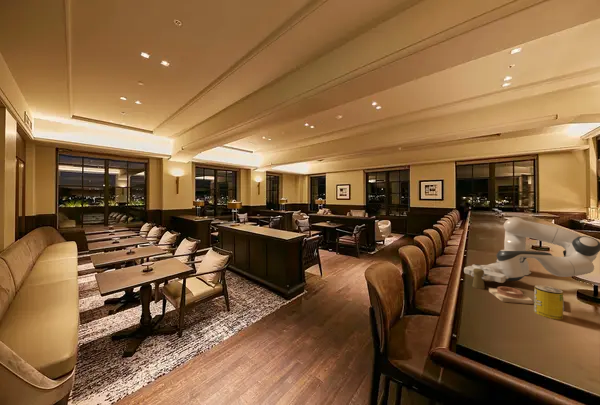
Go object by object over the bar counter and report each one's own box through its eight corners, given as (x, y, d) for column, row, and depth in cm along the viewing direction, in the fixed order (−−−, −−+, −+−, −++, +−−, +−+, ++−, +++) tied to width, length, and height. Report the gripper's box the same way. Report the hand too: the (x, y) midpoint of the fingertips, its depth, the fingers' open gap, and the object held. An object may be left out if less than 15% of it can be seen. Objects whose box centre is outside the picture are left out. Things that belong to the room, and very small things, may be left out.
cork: (487, 289, 133) (487, 270, 133) (475, 288, 134) (475, 270, 134) (481, 285, 139) (481, 267, 139) (470, 284, 140) (470, 267, 140)
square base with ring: (488, 291, 130) (488, 284, 130) (516, 293, 127) (516, 286, 127) (502, 301, 118) (502, 294, 118) (533, 304, 114) (533, 296, 114)
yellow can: (553, 311, 108) (553, 286, 107) (568, 321, 99) (568, 294, 99) (529, 308, 110) (529, 284, 110) (542, 317, 102) (542, 291, 102)
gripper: (510, 282, 134) (499, 287, 127) (470, 272, 152) (459, 276, 145) (510, 272, 133) (499, 276, 127) (470, 263, 151) (459, 266, 145)
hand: (477, 276), depth 136 cm, fingers closed on cork, 4 cm apart
